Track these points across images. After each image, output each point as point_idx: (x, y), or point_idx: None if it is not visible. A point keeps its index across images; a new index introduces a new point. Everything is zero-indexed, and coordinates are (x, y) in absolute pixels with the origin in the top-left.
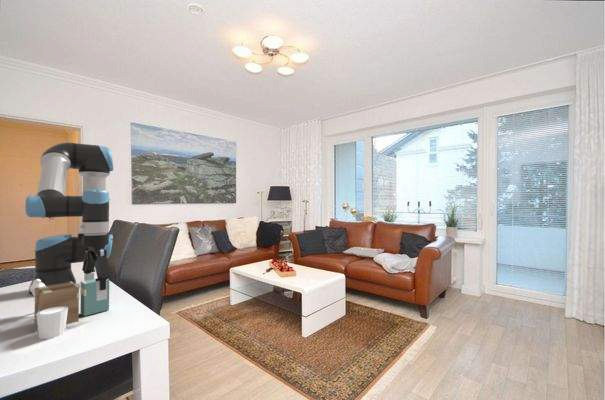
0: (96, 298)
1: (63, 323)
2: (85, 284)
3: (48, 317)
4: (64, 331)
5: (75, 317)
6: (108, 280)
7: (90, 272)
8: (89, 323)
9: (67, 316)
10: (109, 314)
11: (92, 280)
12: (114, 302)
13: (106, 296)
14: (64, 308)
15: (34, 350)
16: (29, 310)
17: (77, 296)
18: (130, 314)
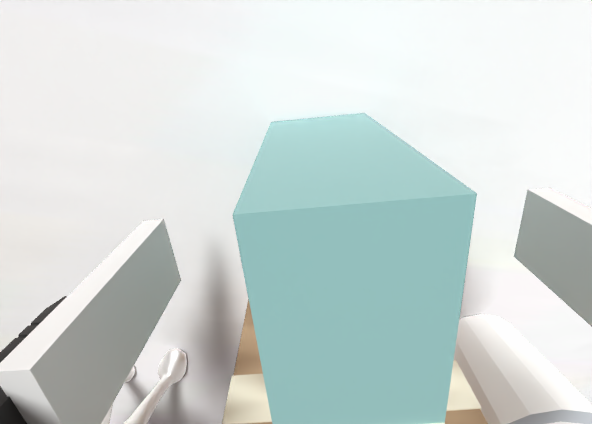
0: (525, 265)
1: (546, 360)
2: (441, 421)
3: None
4: (505, 321)
5: None
6: (463, 198)
7: (7, 418)
8: (487, 232)
9: None
10: (443, 126)
11: (335, 366)
12: (197, 36)
13: (564, 199)
14: (566, 422)
15: None
16: None
17: (465, 388)
18: (581, 10)
